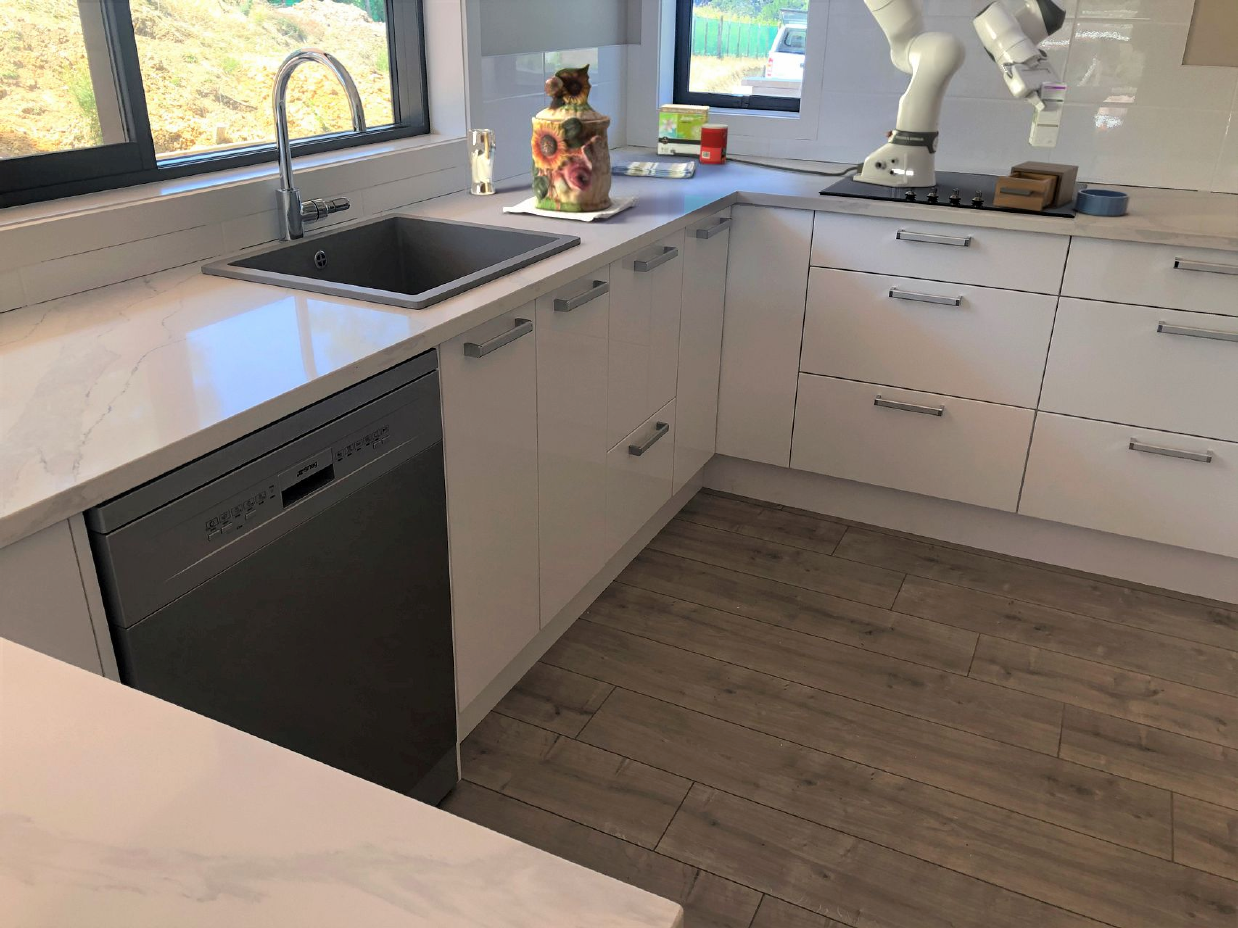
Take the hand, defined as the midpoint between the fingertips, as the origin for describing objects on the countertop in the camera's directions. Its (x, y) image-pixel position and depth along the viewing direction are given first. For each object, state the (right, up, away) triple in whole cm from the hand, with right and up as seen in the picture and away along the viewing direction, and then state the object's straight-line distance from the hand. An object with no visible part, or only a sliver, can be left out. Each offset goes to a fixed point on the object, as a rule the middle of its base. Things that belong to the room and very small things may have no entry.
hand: (1051, 108), depth 241 cm
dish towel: (-93, -2, +49) cm, 105 cm away
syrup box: (-1, -8, +4) cm, 9 cm away
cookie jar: (-114, -26, -5) cm, 117 cm away
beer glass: (-138, -17, +13) cm, 139 cm away
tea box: (-83, +15, +84) cm, 119 cm away
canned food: (-75, +7, +69) cm, 102 cm away
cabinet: (+5, -17, +19) cm, 26 cm away
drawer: (-4, -21, +7) cm, 23 cm away
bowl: (+15, -23, +7) cm, 28 cm away
